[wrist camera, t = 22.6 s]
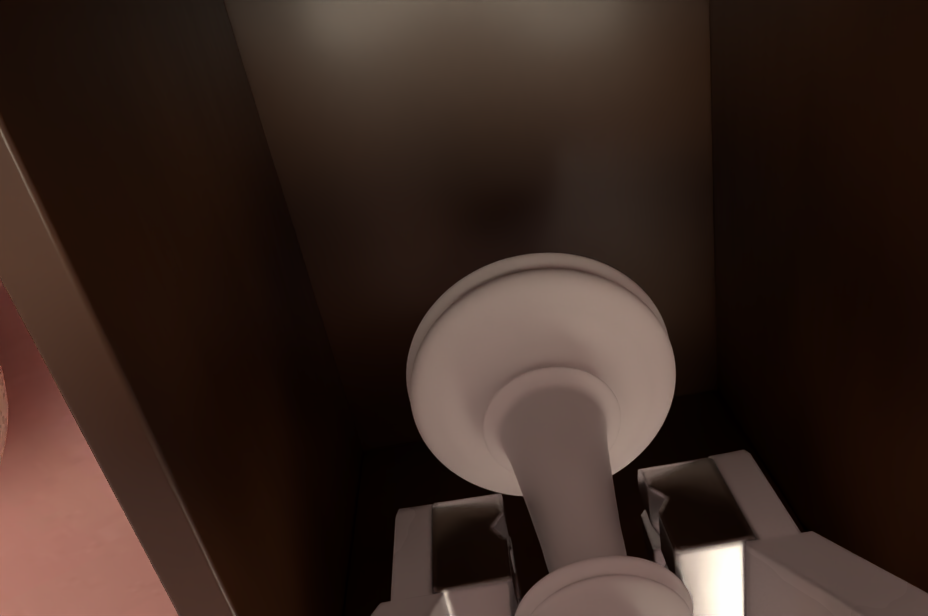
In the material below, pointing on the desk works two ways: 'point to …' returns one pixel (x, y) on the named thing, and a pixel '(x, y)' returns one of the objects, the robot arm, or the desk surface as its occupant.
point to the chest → (460, 253)
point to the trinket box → (3, 413)
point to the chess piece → (552, 415)
